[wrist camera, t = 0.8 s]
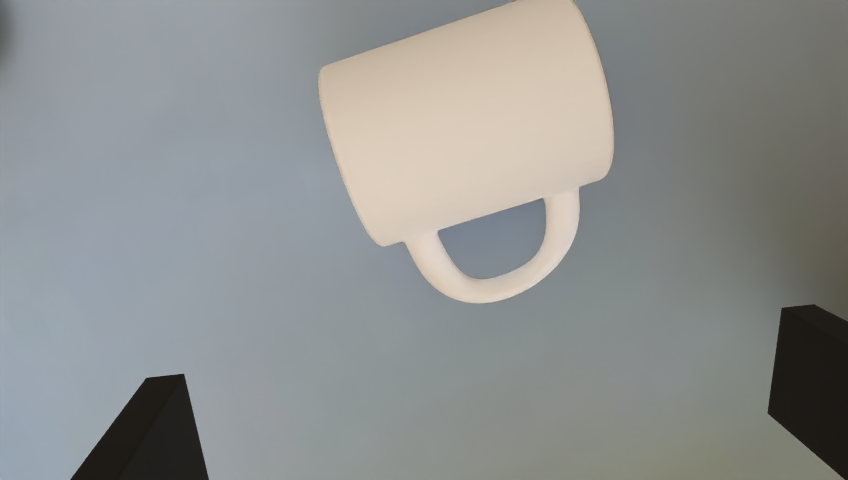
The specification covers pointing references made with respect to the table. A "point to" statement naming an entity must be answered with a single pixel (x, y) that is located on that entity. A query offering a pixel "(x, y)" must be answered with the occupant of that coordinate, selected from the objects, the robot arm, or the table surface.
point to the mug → (472, 134)
